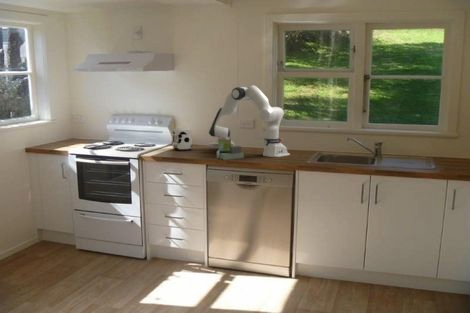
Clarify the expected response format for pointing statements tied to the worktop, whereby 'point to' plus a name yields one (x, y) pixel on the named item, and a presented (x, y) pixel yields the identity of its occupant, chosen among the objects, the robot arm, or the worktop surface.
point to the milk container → (182, 139)
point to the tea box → (224, 145)
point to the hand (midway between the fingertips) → (222, 146)
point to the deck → (231, 153)
